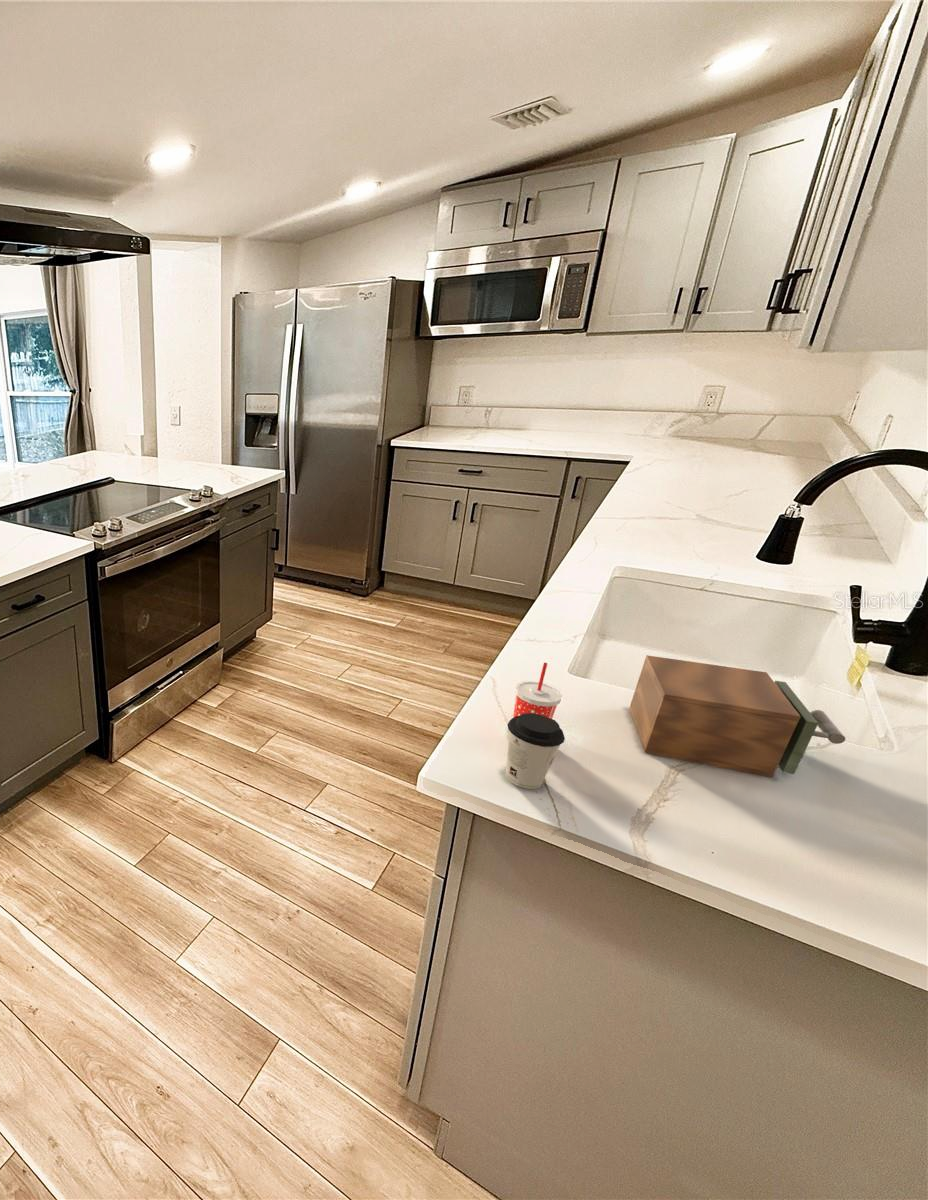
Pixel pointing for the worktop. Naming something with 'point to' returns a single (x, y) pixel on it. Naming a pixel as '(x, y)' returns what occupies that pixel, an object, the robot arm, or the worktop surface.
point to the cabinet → (712, 715)
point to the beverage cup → (536, 697)
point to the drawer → (805, 730)
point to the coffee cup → (531, 749)
